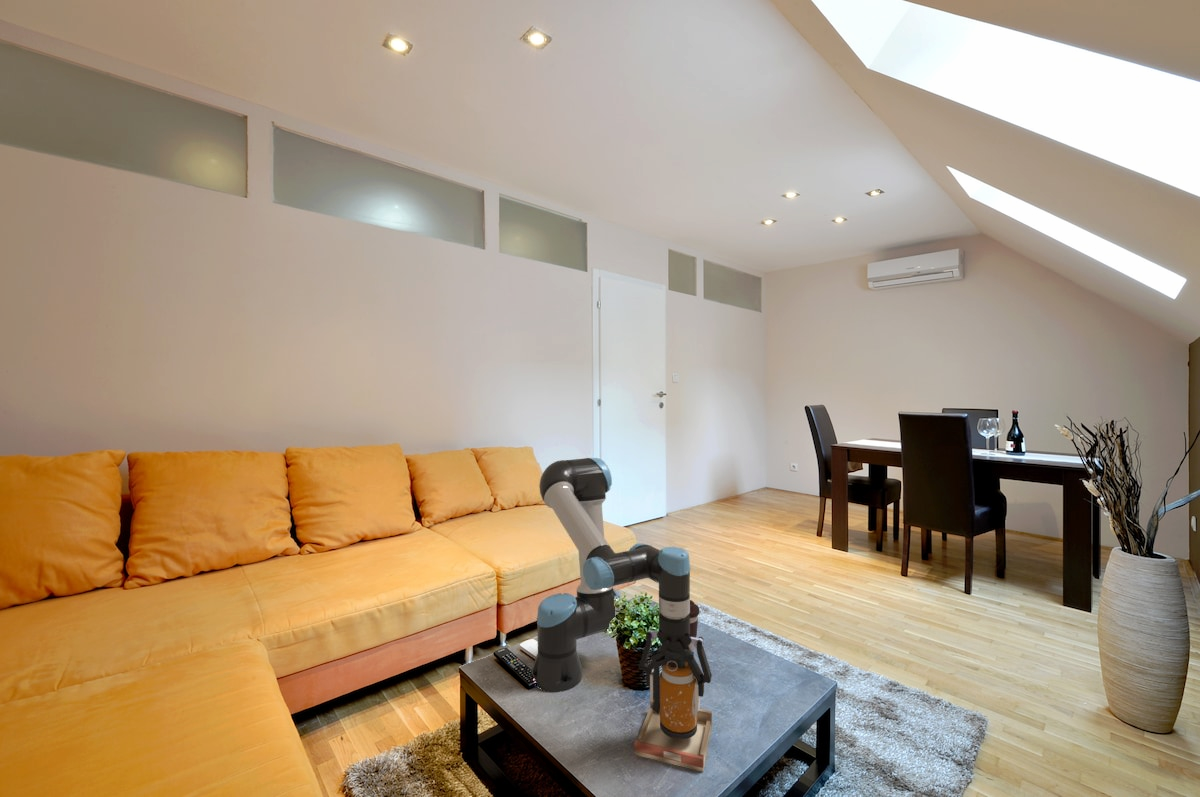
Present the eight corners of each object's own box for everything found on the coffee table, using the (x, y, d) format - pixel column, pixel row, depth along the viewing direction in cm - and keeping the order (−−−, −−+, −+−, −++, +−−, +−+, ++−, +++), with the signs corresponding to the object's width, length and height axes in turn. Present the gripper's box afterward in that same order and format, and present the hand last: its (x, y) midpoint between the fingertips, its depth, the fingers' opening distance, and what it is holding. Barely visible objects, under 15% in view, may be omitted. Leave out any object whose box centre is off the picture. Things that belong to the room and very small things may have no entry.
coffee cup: (701, 642, 165) (701, 598, 165) (696, 657, 156) (696, 611, 155) (673, 637, 168) (672, 594, 168) (666, 651, 159) (666, 606, 159)
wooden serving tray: (634, 755, 113) (634, 739, 113) (650, 713, 129) (650, 698, 129) (703, 773, 108) (703, 756, 108) (712, 726, 123) (711, 711, 123)
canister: (696, 745, 113) (696, 659, 112) (649, 737, 115) (648, 654, 115) (697, 719, 121) (697, 640, 121) (653, 713, 124) (653, 636, 124)
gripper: (625, 612, 118) (625, 702, 119) (720, 627, 111) (720, 723, 111) (633, 600, 125) (634, 685, 126) (723, 613, 118) (724, 703, 118)
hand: (674, 703), depth 118 cm, fingers closed on canister, 10 cm apart
